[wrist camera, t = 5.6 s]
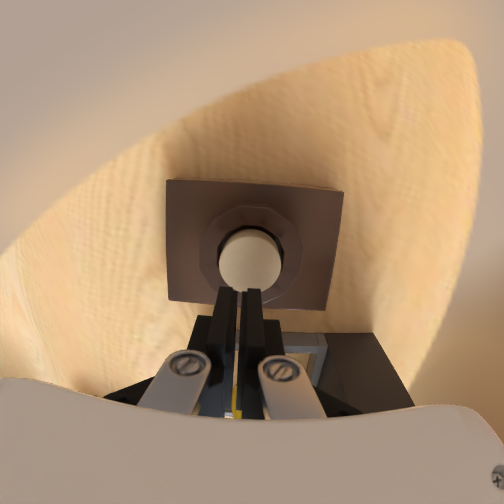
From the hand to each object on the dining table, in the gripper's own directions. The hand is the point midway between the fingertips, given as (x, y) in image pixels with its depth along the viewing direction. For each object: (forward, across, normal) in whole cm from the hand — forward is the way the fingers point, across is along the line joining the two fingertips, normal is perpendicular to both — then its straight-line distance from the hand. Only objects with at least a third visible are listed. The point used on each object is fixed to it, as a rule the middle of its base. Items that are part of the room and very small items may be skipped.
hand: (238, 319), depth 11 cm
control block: (+11, 0, 0) cm, 11 cm away
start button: (+7, 0, 0) cm, 7 cm away
